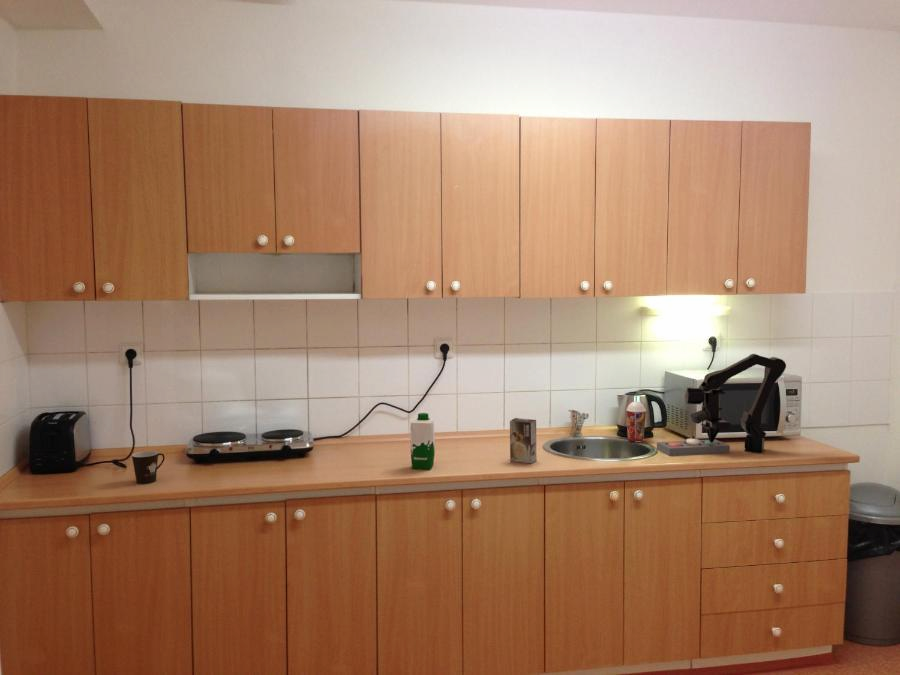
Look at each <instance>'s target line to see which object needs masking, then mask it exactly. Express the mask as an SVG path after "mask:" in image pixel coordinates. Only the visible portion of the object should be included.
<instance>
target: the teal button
mask: <svg viewBox="0 0 900 675" xmlns="http://www.w3.org/2000/svg"><path fill="white" fill-rule="evenodd" d="M705 444H707V445H716V444H718V442H716V441H713V442H710V441H705Z"/></svg>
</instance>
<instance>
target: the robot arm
mask: <svg viewBox="0 0 900 675" xmlns="http://www.w3.org/2000/svg"><path fill="white" fill-rule="evenodd" d="M757 365H759V366H761V367H764V372H763V373H764V374H763V375H764V377H763V379H762V382H761V384H760V386H759V388H758V391H757V394H756V395H755V398H754V400H753V403H752V405H751V407H750V409H749V411H744V410H743V414H742V417H741V418H740V421H741V422H740V427H741V428H742V429H743V430H744V431H745V432H746V435H745V438H744V450H743V451H744V452H747V453H748V452H750V453H757V454H762V453H764V452H765V451H766V449H765V438H766V435H767V433H766V432H765V431H764V430H763V429H762V428H761V426H762V421H763V412H764V410H765V407H766V405H767V403H768V400H769V397H770V396H771V393H772V391H773V388H774V386H775V383H776V382H777V381H778V380H779V378H780V377H781V376H782V375H783V374H784V372H785V371H786V369H787V363H786V361H785V360H784V359H782V358H779V357H776V356H771V357H766V356H762V355H759V354H757V353H751V354H750V355H748V356H746V357H744V358H743V359H741V360H738V361H737V362H735V363H733V364H731V365H729V366H727V367H725V368H722V369H719V370H715V371H712V372H708V373H707V374H706V375H704V378H703V381H702V382H701V384H700V385H699V386H698V387H690V386H689V387H688V386H687V387H686V390H685V395H684V400H685V404H686V405H702V403H704V405H703V406H702V407H701V410H698V411H696V412H693V413H691V414H690V418H691V421H692V422H691V423H694V424H696V425H698V424H699V425H700V424H701V426H702V427H703V428H704V429H705V431H706V435H707V438H708V440H709V441H710V442H713V441H714V439H716V437H717V436H718V434H719V432H720V431H721V430H730V429H732V428H731V423H730V421H727V420H725V419H722V417H721V416H720V411H722V409H723V407H720V405H721V404H720V403H721V402H720V401H721V399H720V398H721V396H720V395H726V392H725V391H724V390H723V389H722V387H721V386H723V385H724V384H726V383H727V382H728V380H730V379H731V378H733V377H735V376H736V375H738V374H741V373H742V372H745V371H746V370H749V369H750V368H752V367H754V366H757Z"/></svg>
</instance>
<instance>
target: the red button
mask: <svg viewBox="0 0 900 675" xmlns="http://www.w3.org/2000/svg"><path fill="white" fill-rule="evenodd" d="M669 442H670V441H669ZM668 445H669V446H671V447H676V446H681V444H680V443H676V442H670V443H668Z"/></svg>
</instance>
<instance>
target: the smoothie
mask: <svg viewBox="0 0 900 675" xmlns="http://www.w3.org/2000/svg"><path fill="white" fill-rule="evenodd" d="M625 412H626V428H627V433H626V434H627V438H628V441H629V440H630V441H629V442H631V441H642V440H644V438H645V429H646V415H647V409H646V408H645V406H644V404H643V403H642V402H640V401H639V400H638V395H637V394H635V400H634V401H632V402H630V403H629V404H628V406H627V407H626V409H625ZM642 442H643V441H642Z"/></svg>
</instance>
